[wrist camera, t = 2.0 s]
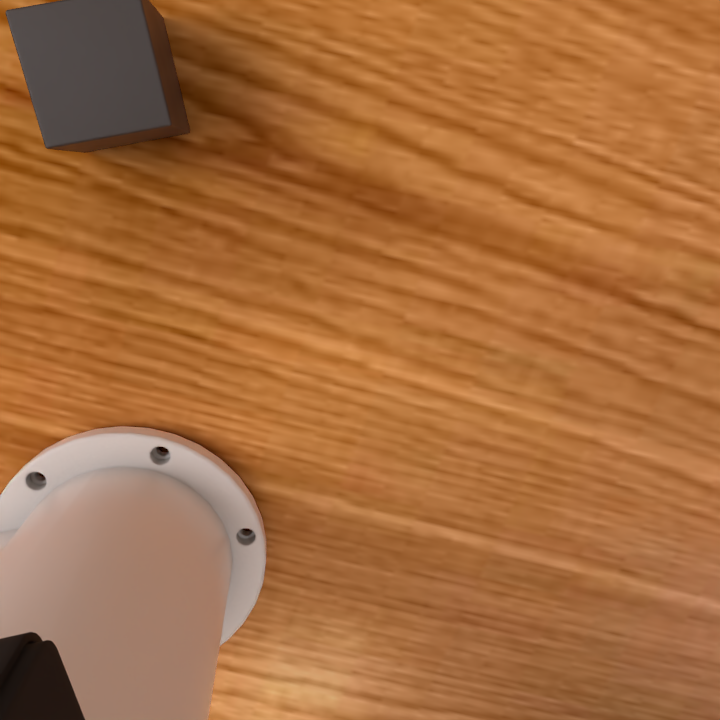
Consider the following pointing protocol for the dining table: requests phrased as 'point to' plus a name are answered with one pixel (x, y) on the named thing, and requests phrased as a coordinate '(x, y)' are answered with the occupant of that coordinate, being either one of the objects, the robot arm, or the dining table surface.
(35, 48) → the block
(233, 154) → the dining table surface
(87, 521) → the robot arm
